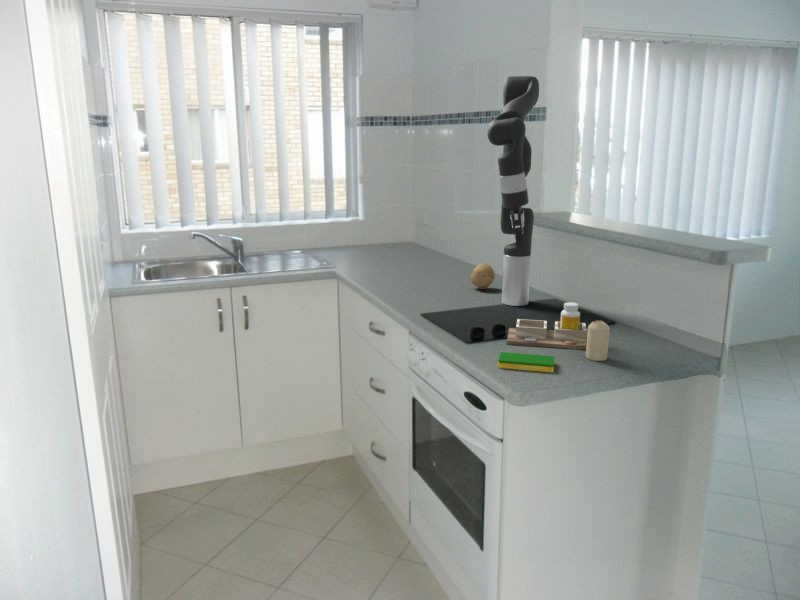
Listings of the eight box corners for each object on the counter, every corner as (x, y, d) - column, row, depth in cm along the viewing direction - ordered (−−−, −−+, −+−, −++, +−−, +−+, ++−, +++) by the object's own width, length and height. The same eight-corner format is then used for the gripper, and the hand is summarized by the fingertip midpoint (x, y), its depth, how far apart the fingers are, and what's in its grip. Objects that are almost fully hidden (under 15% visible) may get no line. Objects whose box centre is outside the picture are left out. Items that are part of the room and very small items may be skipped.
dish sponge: (500, 360, 176) (500, 351, 175) (554, 364, 173) (554, 355, 172) (497, 369, 169) (497, 360, 169) (553, 374, 166) (553, 365, 166)
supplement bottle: (557, 333, 194) (559, 301, 192) (575, 333, 195) (577, 301, 192) (562, 339, 189) (564, 306, 187) (581, 338, 190) (583, 306, 187)
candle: (606, 362, 173) (609, 325, 171) (584, 359, 175) (587, 323, 173) (608, 356, 178) (611, 320, 176) (586, 353, 180) (589, 318, 178)
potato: (496, 292, 248) (497, 266, 246) (472, 292, 248) (473, 266, 245) (491, 286, 257) (492, 261, 255) (469, 286, 257) (469, 261, 254)
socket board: (509, 331, 200) (509, 318, 199) (591, 336, 195) (592, 323, 194) (506, 344, 188) (507, 330, 187) (594, 350, 183) (595, 336, 182)
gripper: (526, 192, 186) (533, 247, 191) (527, 182, 199) (533, 234, 204) (499, 195, 188) (507, 250, 193) (502, 186, 201) (508, 238, 206)
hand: (520, 242), depth 199 cm, fingers open, 8 cm apart
